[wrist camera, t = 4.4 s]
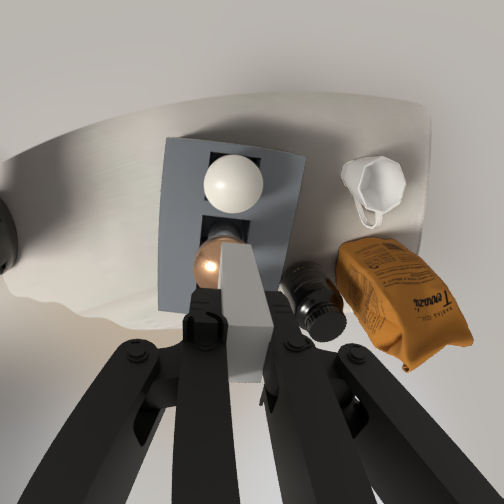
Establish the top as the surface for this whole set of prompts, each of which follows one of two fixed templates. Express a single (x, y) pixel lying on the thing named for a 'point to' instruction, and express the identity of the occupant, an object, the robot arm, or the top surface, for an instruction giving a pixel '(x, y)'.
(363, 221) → the cup
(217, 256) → the brown lidded jar
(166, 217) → the grey pod holder
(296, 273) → the supplement bottle
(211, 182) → the knob
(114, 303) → the top surface
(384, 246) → the coffee package
